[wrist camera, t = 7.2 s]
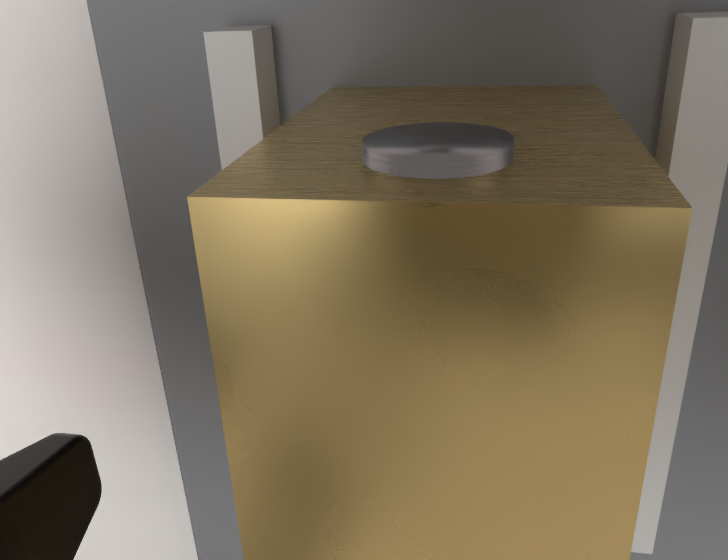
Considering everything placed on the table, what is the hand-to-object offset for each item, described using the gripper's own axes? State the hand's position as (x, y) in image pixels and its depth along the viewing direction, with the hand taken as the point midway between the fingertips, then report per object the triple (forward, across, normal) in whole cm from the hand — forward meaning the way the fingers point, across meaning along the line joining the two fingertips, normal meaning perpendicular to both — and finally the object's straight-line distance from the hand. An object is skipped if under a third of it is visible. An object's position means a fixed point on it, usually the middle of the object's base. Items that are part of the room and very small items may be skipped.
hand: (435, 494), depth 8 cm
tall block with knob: (+5, 0, 0) cm, 5 cm away
